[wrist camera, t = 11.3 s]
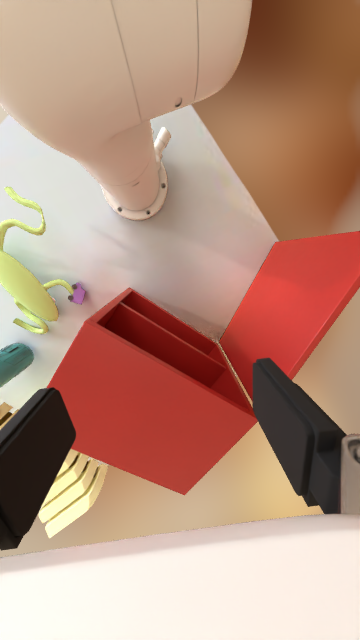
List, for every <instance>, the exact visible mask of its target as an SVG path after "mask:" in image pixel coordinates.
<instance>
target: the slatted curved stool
mask: <svg viewBox="0 0 360 640" xmlns="http://www.w3.org/2000/svg"><path fill="white" fill-rule="evenodd" d="M12 408H13V407H11V406H9V405H8V404H6V403H5V402H4V403H3V404H2V405H1V406H0V430H1V428H2V427H3V426H4V425H5V424H6V423H7V422H8V421H9V420H10V419H11V418H12V417H13V416H14V415H15V414H16V413H17V412H18V411H19V410H18V409H17V410H16V411H15V412H14V413H13V414H12V413H10V412H9V411H10V410H11V409H12ZM88 458H89V456H87V455H85V454H82V453H80V452H77V451H75V450H73V449H70V451H69V453H68V455H67V457H66V459H65V461H64V463H63V465H62V467H61V469H60V471H59V473H58V475H57V477H56V479H55V481H54V483H53V485H52V487H51V488H50V490H49V492H48V494H47V496H46V498H45V500H44V502H43V504H42V506H43V505H44V504H46V503H47V502H48V501H49V500H51V499H52V498H53V497H54V498H53V499H52V500H51V501H50V502H48V503H47V504H46V505H45V506H44V507H42V506H41V507H42V509H41V511H40V513H39V515H38V516H39V517H40V519H41V521H42V523H44V522H46V521H47V520H48V519H49V521H48V523H47V526H46V528H45V529H46V531H47V533H48V536H49V538H50V537H52V536H53V535H54V534H56V533H57V532H59V531H60V530H61V529H63V528H64V527H66V526H67V525H68V524H70V523H71V522H72V521H74V520H75V519H77V518H78V517H79V516H81V515H82V514H83V513H85V512H86V511H87V510H88V509H89V508H90V507H91V506H92V505H93V503H94V502H95V500H96V499H97V497H98V494H99V493H100V491H101V488H102V486H103V483H104V480H105V476H106V473H107V470H108V466H107V465H104V464H101V465H100V466H99V467H97V466H98V463H99V462H97V461H95V460H94V459H93V458H92V459H91V460H90V461H87V460H88ZM58 493H59V494H58ZM57 494H58V495H57ZM56 495H57V496H56Z"/></svg>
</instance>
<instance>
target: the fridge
mask: <svg viewBox="0 0 360 640" xmlns="http://www.w3.org/2000/svg"><path fill="white" fill-rule="evenodd" d="M51 387H54V388H55V389H56V390H59V391H60V394H61V396H62V398H63V401H64V403H65V406H66V408H67V411H68V413H69V416H70V418H71V421H72V423H73V426H74V428H75V430H76V439H75V441H74V443H73V445H72V447H71V449H73V450H75V451H77V452H80V453H82V454H85V455H87V456H90V457H92V458H95V459H97V460H99V461H102V462H104V463H107V464H109V465H112V466H114V467H117V468H119V469H122V470H124V471H126V472H129V473H131V474H134V475H136V476H139V477H141V478H143V479H146V480H148V481H151V482H154V483H156V484H158V485H161V486H163V487H165V488H168V489H170V490H173V491H175V492H178V493H180V494H183V495H185V494H186V493H187V492H188V491H189V490H190V489H191V488H192V487H193V486H194V485H195V484H196V483H197V482H198V481H199V480H200V479H201V478H202V477H203V476H204V475H205V474H206V473H207V472H208V471H209V470H210V469H211V468H212V467H213V466H214V465H215V464H216V463H217V462H218V461H219V460H220V459H221V458H222V457H223V456H224V455H225V454H226V453H227V452H228V451H229V450H230V449H231V448H232V447H233V446H234V445H235V444H236V443H237V442H238V441H239V440H240V439H241V438H242V437H243V436H244V435H245V434H246V433H247V432H248V431H249V430H250V429H251V428H252V427H253V426H254V425H255V424H256V423H257V422H258V420H257V418H256V416H255V414H254V411H253V408H252V407H251V404H250V403H249V401H248V399H247V397H246V395H245V393H244V391H243V389H242V388H241V386H240V384H239V382H238V380H237V378H236V376H235V375H234V373H233V371H232V369H231V367H230V365H229V363H228V362H227V360H226V358H225V356H224V354H223V352H222V350H221V349H220V347H219V345H218V344H217V343H215V342H213V341H212V340H210V339H209V338H207V337H206V336H204V335H202V334H201V333H199V332H198V331H196V330H195V329H193V328H192V327H190V326H188V325H187V324H185V323H184V322H182V321H181V320H179V319H178V318H176V317H174V316H173V315H171V314H170V313H168V312H167V311H165V310H164V309H162V308H160V307H159V306H157V305H156V304H154V303H153V302H151V301H150V300H148V299H146V298H145V297H143V296H142V295H140V294H139V293H137V292H135V291H134V290H132V289H131V288H128V289H127V290H125V291H124V292H123V293H121V294H120V295H119V296H117V297H116V298H115V299H113V300H112V301H111V302H110V303H108V304H107V305H106V306H104V307H103V308H102V309H100V310H99V311H98V312H96V313H95V314H94V315H93V316H91V317H90V318H89V319H87V320H86V321H85V322H84V323H83V325H82V327H81V329H80V330H79V332H78V334H77V336H76V337H75V339H74V341H73V343H72V344H71V346H70V348H69V350H68V351H67V353H66V355H65V357H64V358H63V360H62V362H61V364H60V365H59V367H58V369H57V370H56V372H55V374H54V376H53V377H52V379H51V381H50V383H49V384H48V386H47V388H51Z"/></svg>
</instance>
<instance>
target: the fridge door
mask: <svg viewBox="0 0 360 640" xmlns="http://www.w3.org/2000/svg"><path fill="white" fill-rule="evenodd" d="M359 287H360V231H356V232H348V233H341V234H333V235H326V236H318V237H311V238H303V239H296V240H288V241H280V242H275V244H274V245H273V247H272V249H271V251H270V253H269V254H268V256H267V258H266V260H265V261H264V263H263V265H262V267H261V268H260V270H259V272H258V274H257V276H256V277H255V279H254V281H253V283H252V284H251V286H250V288H249V290H248V292H247V293H246V295H245V297H244V299H243V300H242V302H241V304H240V306H239V307H238V309H237V311H236V313H235V315H234V316H233V318H232V320H231V322H230V323H229V325H228V327H227V329H226V330H225V332H224V334H223V336H222V338H221V339H220V341H219V343H220V345H221V347H222V348H223V350H224V352H225V354H226V355H227V357H228V359H229V361H230V363H231V364H232V366H233V368H234V370H235V371H236V373H237V375H238V377H239V379H240V380H241V382H242V384H243V386H244V388H245V389H246V391H247V393H248V395H249V396H250V398H251V400H252V402H253V363H255V362H256V360H257V359H262V358H270V359H271V360H272V361H273V362H274V363H275V364H276V365H277V366H278V367H279V368H280V369H281V370H282V371H283V372H284V373H285V374H286V375H287V376H288V377H289V378H290V379H291V380H292V379H293V378H294V377H295V375H296V374H297V372H298V371H299V370H300V368H301V367H302V366H303V364H304V363H305V361H306V360H307V359H308V357H309V356H310V355H311V353H312V351H314V349H315V348H316V346H317V345H318V344H319V342H320V341H321V339H322V338H323V337H324V335H325V334H326V333H327V331H328V330H329V329H330V327H331V326H332V324H333V323H334V322H335V320H336V319H337V318H338V316H339V315H340V314H341V312H342V311H343V309H344V308H345V307H346V305H347V304H348V302H349V301H350V300H351V298H352V297H353V296H354V294H355V293H356V292H357V290H358V289H359Z"/></svg>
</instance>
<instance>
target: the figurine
mask: <svg viewBox="0 0 360 640" xmlns="http://www.w3.org/2000/svg"><path fill="white" fill-rule="evenodd" d="M4 190H5V191H6V192H7V194H8V195H9V196H10V197H11V198H12V199H13V200H15V201H16V202H18V203H20V204H22V205H24V206H26V207H30V208H32V209H35V210H37V211H38V212H39V213H40V214H41V215H42V225H41V226H40V227H39V228H35V229H34V228H32V227H29V226H27V225H25V224H23V223H22V222H20V221H18V220H14V219H9V220H5V221H3V222H1V223H0V283H1V284H2V286H3V287H4V288H5V289H6V290H7V291H8V292H9V293H10V294H11V295H12V296H13V297H14V298H15V299H14V302H15V304H16V305H17V306H18V307H19V308H20V309H21V311H22V312H23V313H24V314H25V315H26V316H27V317H28V318H29V319H31V320H32V321H34V322H35V323H37V324H38V325H39V326H40V327H41V328H42V329H38V328H35V327H32V326H30V325H28V324H26V323H24V322H23V321H21V320H19V319H17V318H16V319H15V320H14V321H13V323H15V324H17V325H19V326H21V327H23V328H24V329H27V330H29V331H31V332H34V333H37V334H45V333H47V332H48V327H47V325H46V324H45V322H43V321H42V320H41V319H40V318H42V319H45V320H48V321H57V319H58V317H59V315H58V310H57V307H56V305H55V302H56V300H55V299H54V298H51V296H50V295H49V293H48V292H47V291H46V290H47V289H49V288H51V287H53V286H55V285H62V286H64V287H65V288H66V289H67V290H68V291H69V293H70V294H71V295H72V296H69V297H68V299H69V300H71V301H70V302H74V303H78V304H81V305H82V302H83V298H84V294H85V291H84V290H83V289H82V288H81V284H80V283H76V284H74V285H72V287H71V286H70V285H69V284H68V283H67V282H66V281H63V280H61V279H57V280H53V281H50V282H48V283H46V284H44V285H42V284H41V283H40V282H39V281H38V280H37V279H36V278H35V276H34V275H33V274H32V273H31V272H30V271H28V270H27V269H26V268H25V267H24V266H23V265H22V264H21V263H20V262H18V261H17V260H16V259H14V258H13V257H11V256H10V255H8V254H7V253H5V252H3V242H4V237H5V233H6V231H7V229H8V228H10V227H12V226H18V227H20V228H21V229H23V230H25V231H27V232H29V233H31V234H35V235H42V234H43V233H44V232H45V228H46V224H45V221H44V217H43V213H42V209H41V208H40V207H39V205H38V204H37V203H35V202H33V201H29V200H26V199H24V198H22V197H20V196H19V195H17V194H16V193H15V191H14V190H13V189H12V188H11V187H6V188H5V189H4ZM31 312H32V313H34V314H35V315H37V316H39V317H40V318H38V317H36V316H35V315H33V314H32V313H31Z"/></svg>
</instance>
